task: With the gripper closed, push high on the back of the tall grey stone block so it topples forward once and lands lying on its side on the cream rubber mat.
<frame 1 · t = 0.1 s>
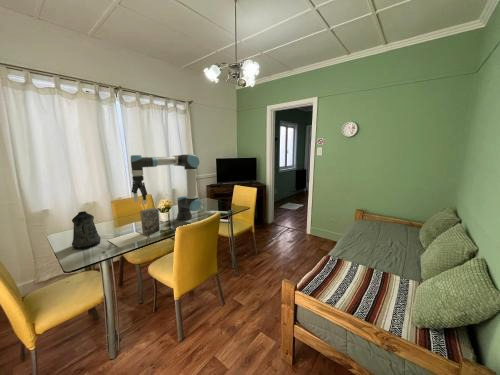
hand: (140, 202, 162), 28 cm above the table, fingers open, 13 cm apart
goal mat: (128, 239, 162), on the table
black drawstring bag: (87, 245, 151), on the table
stone block: (151, 232, 176), on the table
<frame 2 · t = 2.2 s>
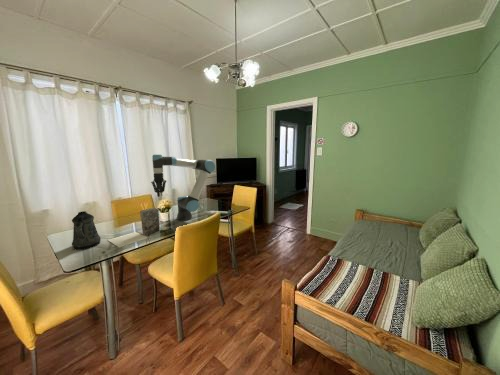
hand: (160, 200, 180), 26 cm above the table, fingers closed
nothing on the table moved.
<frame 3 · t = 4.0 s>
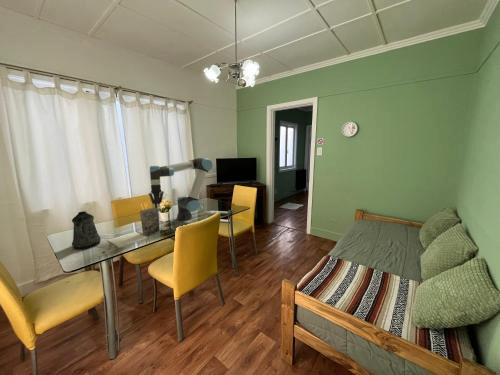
hand: (157, 211, 179), 17 cm above the table, fingers closed
stone block: (151, 232, 176), on the table, touching gripper
everything else where it was.
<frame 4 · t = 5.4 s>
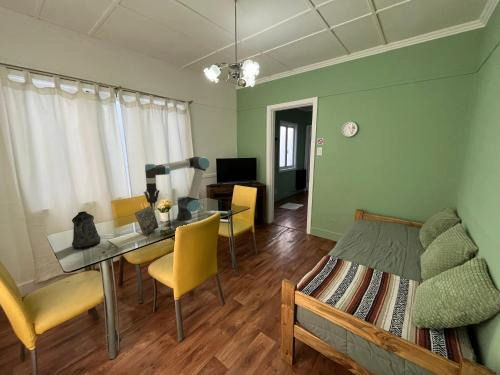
hand: (152, 210, 176), 18 cm above the table, fingers closed
stone block: (150, 230, 176), point 1 cm above the table, touching gripper
everything else where it was.
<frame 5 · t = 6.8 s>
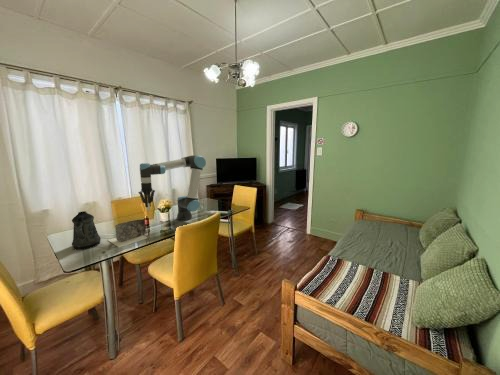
hand: (148, 210, 172), 19 cm above the table, fingers closed
stone block: (144, 226, 171), point 7 cm above the table, touching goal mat
everything else where it was.
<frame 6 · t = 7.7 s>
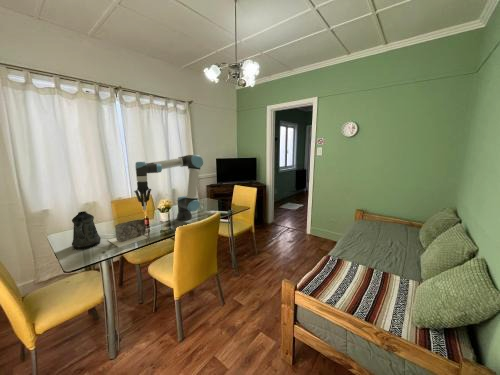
hand: (144, 209, 170), 20 cm above the table, fingers closed
nothing on the table moved.
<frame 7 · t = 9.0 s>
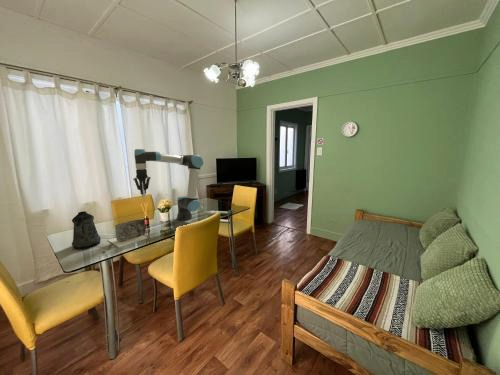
hand: (143, 198, 168), 30 cm above the table, fingers closed
nothing on the table moved.
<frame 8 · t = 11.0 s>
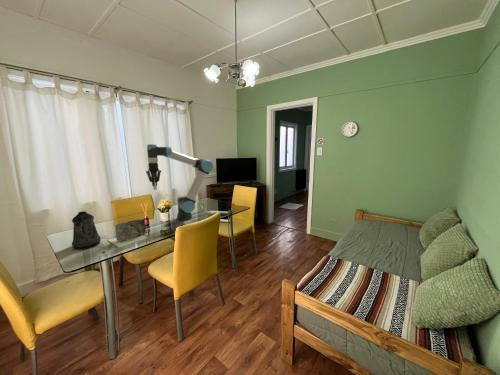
hand: (155, 189, 183), 34 cm above the table, fingers closed
nothing on the table moved.
at the end: stone block tilted 89°; stone block touching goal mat; stone block inside the target area (3.5 cm from its centre), point 6.8 cm above the table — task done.
